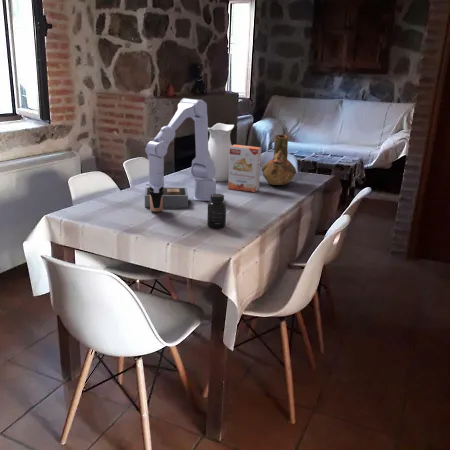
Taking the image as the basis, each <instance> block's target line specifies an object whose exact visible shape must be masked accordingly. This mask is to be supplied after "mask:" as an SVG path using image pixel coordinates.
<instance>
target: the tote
mask: <svg viewBox="0 0 450 450" xmlns="http://www.w3.org/2000/svg"><path fill="white" fill-rule="evenodd" d="M149 187H150V186H147V187H146V186H145V188H144V189H145V190H144V208H150V193H149V190H150V188H149ZM167 189H179V195H167ZM162 191H164V193H163V209H164V208H174V209H175V208H179V209H180V208H188V207H189V194H188V189H187V187H165V186H164V188H163V190H162Z"/></svg>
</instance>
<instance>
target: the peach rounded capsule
mask: <svg viewBox="0 0 450 450" xmlns="http://www.w3.org/2000/svg"><path fill="white" fill-rule="evenodd" d="M149 209H150V211H151V212H162V211H163V210H164V208H163V195H162V197H161V202H160V207H159V208H154V206H153V201H152V198H151V195H150V207H149Z"/></svg>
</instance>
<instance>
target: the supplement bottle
mask: <svg viewBox="0 0 450 450" xmlns="http://www.w3.org/2000/svg"><path fill="white" fill-rule="evenodd" d="M210 200H211V201H208V203H207V223H206V225H207V227H208V228H209V229H212V230H222V229H224V228H226V225H227V204H226V202H225V195H224V194H222V193H216V194H212V195H211V199H210Z"/></svg>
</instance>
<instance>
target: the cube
mask: <svg viewBox="0 0 450 450" xmlns="http://www.w3.org/2000/svg"><path fill="white" fill-rule="evenodd" d="M167 195H179V189H167Z"/></svg>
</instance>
